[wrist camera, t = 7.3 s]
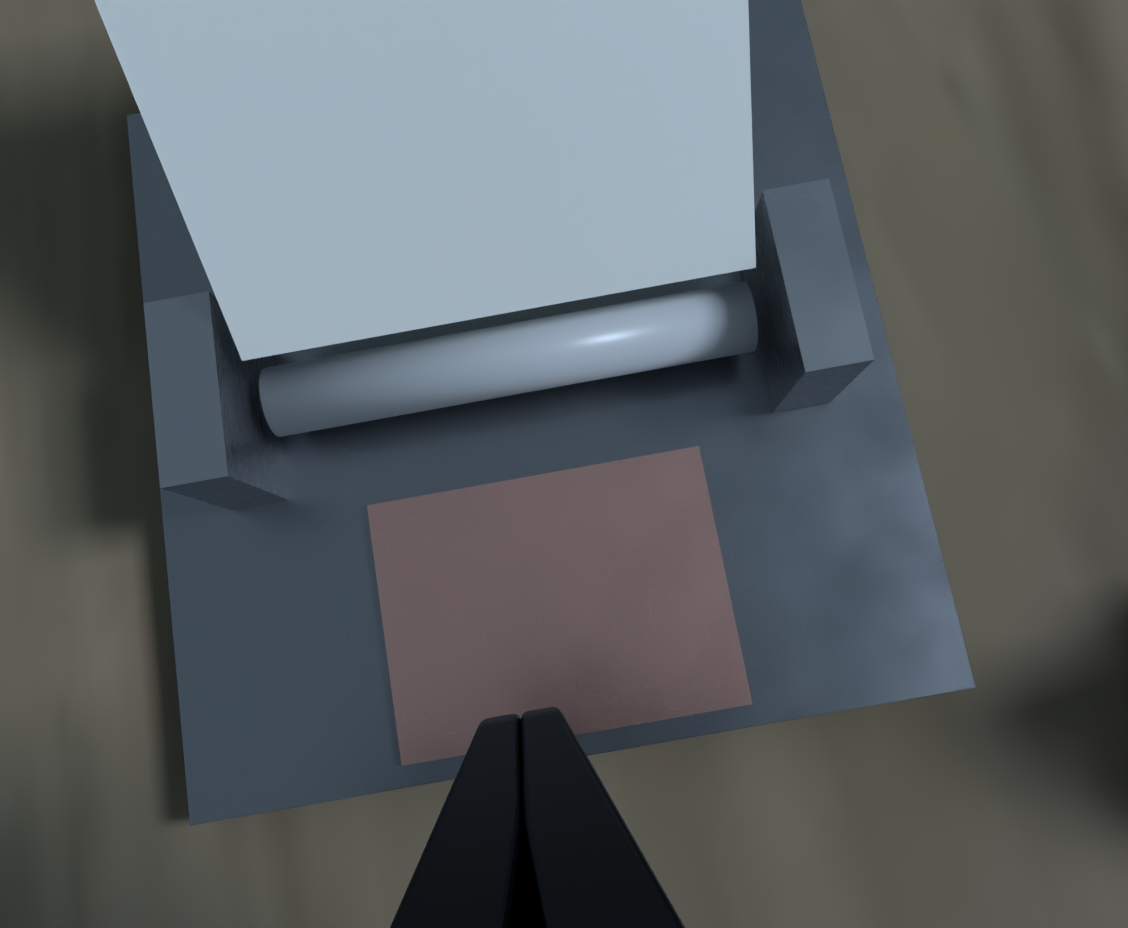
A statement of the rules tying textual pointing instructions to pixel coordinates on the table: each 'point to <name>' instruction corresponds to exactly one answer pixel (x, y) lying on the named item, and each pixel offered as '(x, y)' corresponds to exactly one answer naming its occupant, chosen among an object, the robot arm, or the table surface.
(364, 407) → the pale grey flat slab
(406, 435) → the blue-grey base plate
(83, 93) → the table surface
